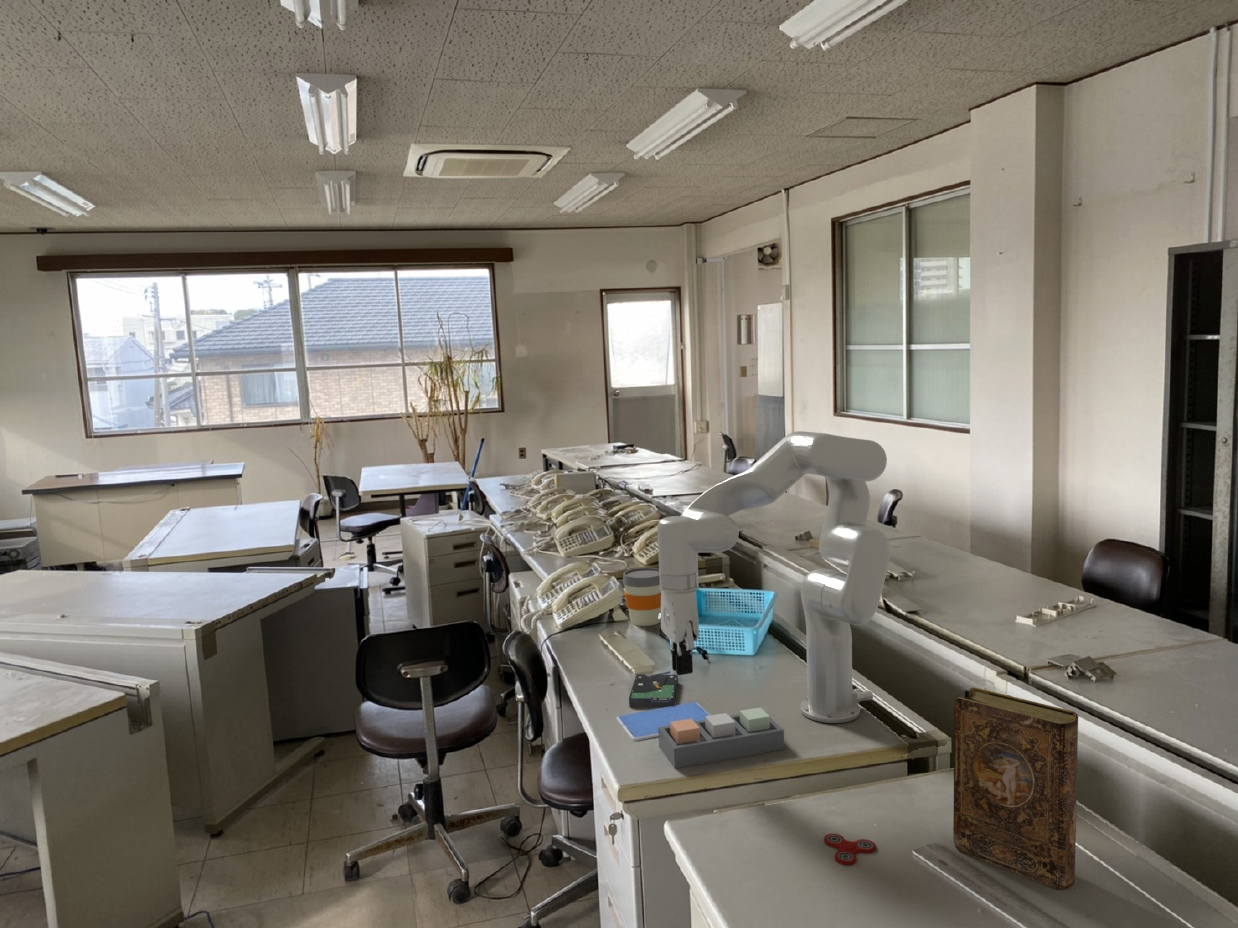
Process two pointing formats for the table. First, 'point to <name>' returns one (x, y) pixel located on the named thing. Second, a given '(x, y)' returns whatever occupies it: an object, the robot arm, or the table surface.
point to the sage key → (754, 719)
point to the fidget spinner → (848, 848)
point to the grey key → (720, 725)
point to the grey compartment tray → (720, 744)
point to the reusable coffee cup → (643, 595)
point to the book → (1016, 785)
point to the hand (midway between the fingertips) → (682, 670)
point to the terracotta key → (684, 731)
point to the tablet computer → (659, 719)
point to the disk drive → (653, 691)
